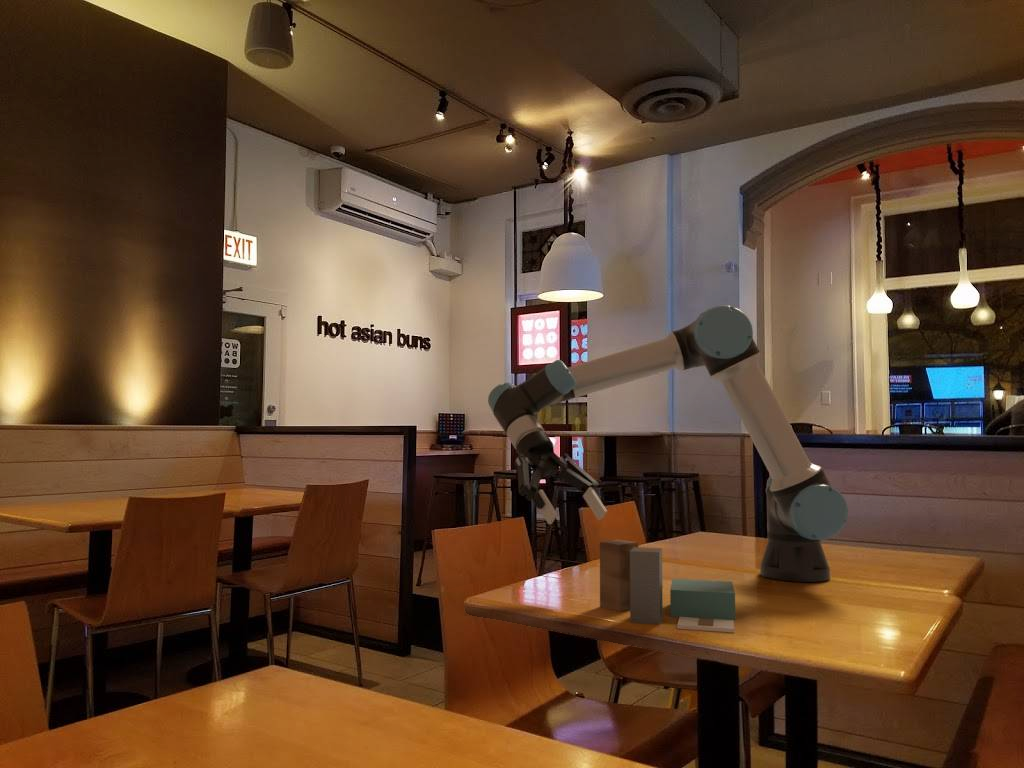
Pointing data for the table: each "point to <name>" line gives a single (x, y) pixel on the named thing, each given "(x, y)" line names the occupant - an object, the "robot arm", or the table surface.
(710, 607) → the teal pedestal
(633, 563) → the grey metal block
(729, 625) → the card
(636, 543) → the walnut block
